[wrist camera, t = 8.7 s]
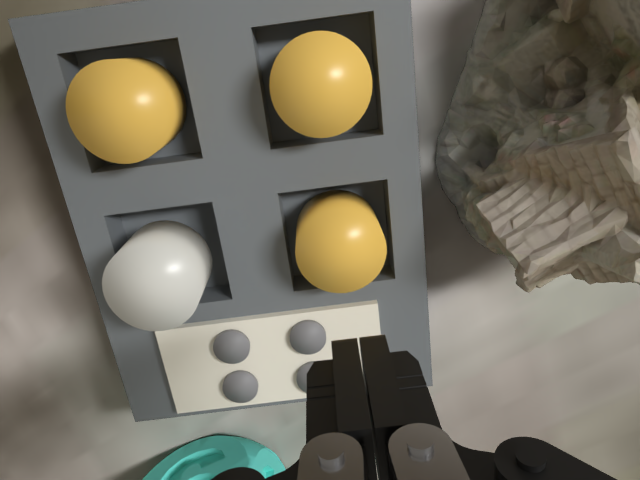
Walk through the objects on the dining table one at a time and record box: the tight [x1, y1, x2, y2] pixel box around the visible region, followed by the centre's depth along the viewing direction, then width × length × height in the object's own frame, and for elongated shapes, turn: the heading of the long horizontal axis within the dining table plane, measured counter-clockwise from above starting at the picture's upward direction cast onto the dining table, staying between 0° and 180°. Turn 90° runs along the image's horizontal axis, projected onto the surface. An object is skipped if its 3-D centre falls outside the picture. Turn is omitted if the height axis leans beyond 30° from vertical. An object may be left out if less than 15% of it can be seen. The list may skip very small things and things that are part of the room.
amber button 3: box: [295, 190, 387, 293], centre depth 24 cm, size 4×4×3 cm
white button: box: [102, 220, 212, 331], centre depth 23 cm, size 4×4×3 cm
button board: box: [8, 0, 433, 422], centre depth 25 cm, size 20×16×4 cm
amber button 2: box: [269, 31, 372, 138], centre depth 21 cm, size 4×4×3 cm
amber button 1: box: [66, 58, 186, 164], centre depth 21 cm, size 4×4×3 cm
